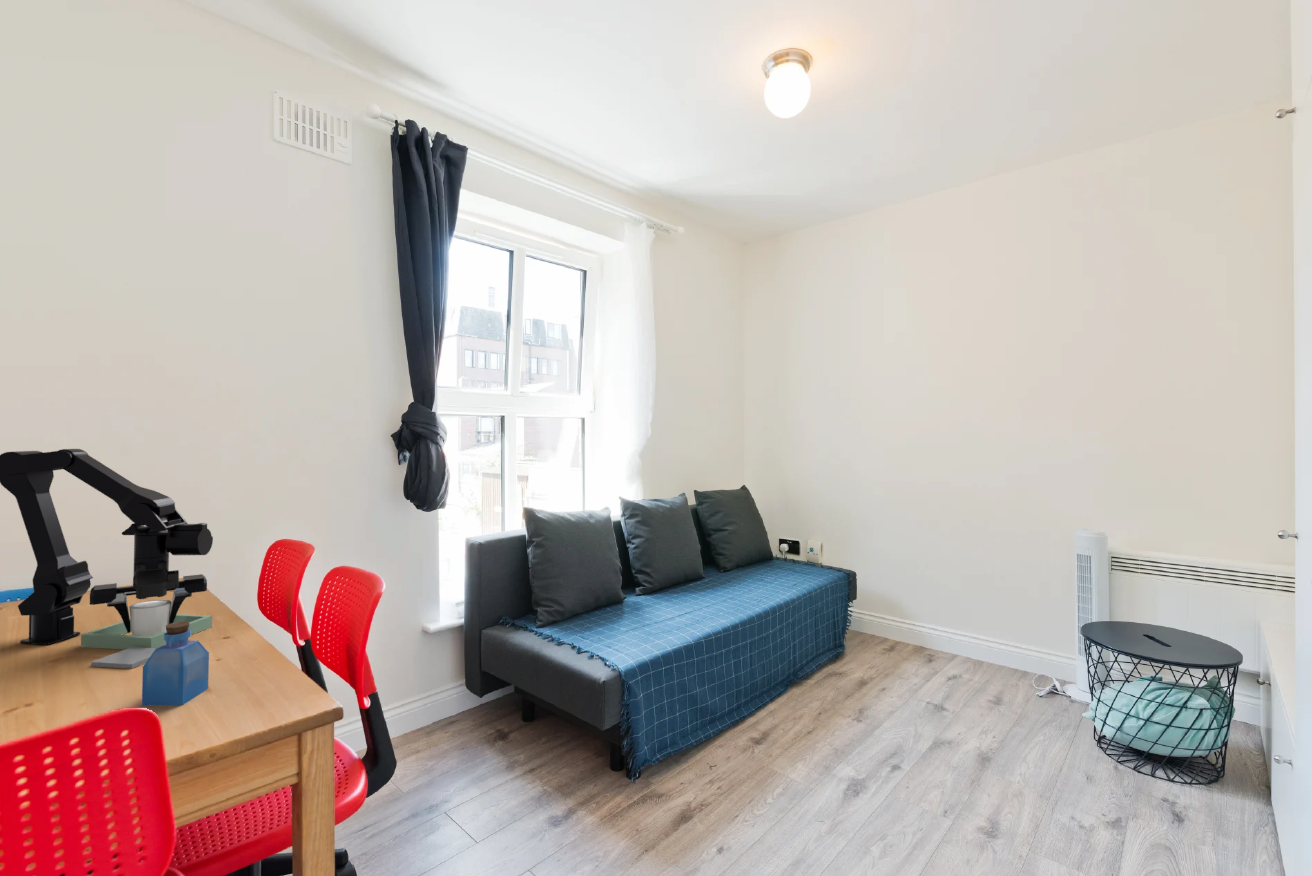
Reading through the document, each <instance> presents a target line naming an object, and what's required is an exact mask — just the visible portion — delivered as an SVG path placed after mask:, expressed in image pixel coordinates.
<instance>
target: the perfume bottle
mask: <svg viewBox="0 0 1312 876" xmlns="http://www.w3.org/2000/svg"><path fill="white" fill-rule="evenodd" d="M189 624H190V623H189V622H176V623H171V624H168V625H166V626H165V627H166V631H167V632H166V633H164V640H165V641H166V644H165V645H163V646H161V647H159V648H157V649H155V651H154V652H153V653H152V655H151V656H150V658H149V659H148V660H147V662H146V663H144V664H143V666H142V678H141V679H142V681H141V682H142V684H141V688H142V689H141V706H184V705H185V704H187V703H189V702H190V701H192V700H193V699H195V698H196V697H197V696H199V695H201V694H202V693H204V692H205V691H207V690H208V689H209V672H210V671H209V669H210V668H209V666H210V662H209V661H210V652H209V651H208V650H207V649H206V648H205V647H204V645H203V644H202V643H201V642H200V641H199V640H189V638H190V637H192V635H191V630H190V629H188V628H189Z"/></svg>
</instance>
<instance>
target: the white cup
mask: <svg viewBox="0 0 1312 876" xmlns="http://www.w3.org/2000/svg"><path fill="white" fill-rule="evenodd" d="M171 604H172V601H171V600H169V599H153V600H146V601H145V600H144V601H140V602H136V603H133V604H131V605H130V606H129V605H128V609H129V616H130V619H131V628H132V631H131V635H135V636H153V635H156V634H159V633H162V632H164V631H166V627H165V626H166V625H168V624H169V617H170V610H171Z"/></svg>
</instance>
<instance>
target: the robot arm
mask: <svg viewBox="0 0 1312 876" xmlns="http://www.w3.org/2000/svg"><path fill="white" fill-rule="evenodd" d="M58 470H64V471H66V472H67V473H69V474H71V475H72V476H73V477H76V478H77V479H78V480H80V481H82V482H83V483H85V484H87V485H88V486H90V487H91V488H93V489H94V490H96V491H98V492H100V493H101V494H103V495H104V496H106V497H107V498H109V499H110V500H112V501H113V502H114V503H115V504H117V506H118V508H119V511H121V513H122V514H123V515H125V516H126V518H128V519H129V520H130V521H131V522H132V523H131V524H130V526H129V527H127V528H126V529H125V530H123V531H122V532H121V535H122V536H133V541H134V542H133V577H132V585H129V586H122V587H121V586H119V587H118V584H117V583H115V582H113V583H107V584H105V583H104V584H98V585H97V584H96V585H94V586H93V587H92V588H91V582H92V581H91V580H92V579H94V577H93V575H91V573H90V570H89V563H88V562H87V560H82V561H77V560H76V559H75V558H73V557H72V555H71V554H70V551H69V548H68V545H67V541H66V538H65V536H64V535H65V534H64V533H63V530H62V526H61V524H60V520H59V518H58V514H57V512H56V507H55V505H54V502H53V501H54V500H53V498H52V496H51V495H52V494H51V492H50V491H51V490H50V489H51V485H52V484H53V483H52V482H53V480H54V478H55V476H54V475H55V474H54V471H58ZM0 485H1V486H2V487H3V488H4V489H6V490H7V491H8V492H9V493H10V494H12V496H14V497H15V500H16V502H17V505H18V509H19V511H20V512H19V513H20V515H21V517H22V518H21V519H22V522H23V525H24V527H25V530H26V533H27V536H28V537H27V538H28V540H29V542H30V546H31V548H32V551H33V555H34V559H35V561H36V567H35V568H36V569H35V571H34V575H33V578H32V588H33V589H32V590H33V593H31V594H30V595H29V596H28V597H27V598H25V599H24V600H23V601H22V602H21V603H19V604H18V605H17V608H18V611H19V614H20V615H21V616H29V617H28V637H27V638H25V639H20V641H19V643H20V642H21V643H20V644H29V643H35V644H34V645H51V644H54V643H58V642H61V641H64V640H67V639H70V638H73V637H76V636H81V631H75V616H74V607H72V606H74V605H78V604H80V603H81V601H82V599H83V597H84V595H85V594H86V593H87V592H88V590H89V589H90V593H89V605H91V606H95V605H103V604H106V607H109V608H110V607H111V608H112V607H113V608H114V609H115V610H116V611H117V612H118V614H119V616H120V618H121V621H123V622H124V625H125V627H126V630H127V632H128V633H127V634H129V633H131V632H130V628H131V623H130V619H131V618H130V609H129V604H128V598H127V597H128V596H134V595H135V598H136V599H137V600H145V599H147V598H154V597H156V598H163V597H165V596H167V594H168V592H170V591H171V592H173V594H172V599H171V600H172V601H171V609H170V617H169V624H171V623H173V622H174V619H175V617H176V614H178V611H179V609H180V607H181V606H182V604H183V603H184V601H185V600H186V598H189V597H192V596H193V594H194V593H202V592H206V591H208V580H207V578H206V576H205V575H203V574H202V573H201V574H192V575H190V574H189V575H183V577H182V580H180V572H179V571H180V570H179V569H178V570H175V569H174V570H170V569H169V566H170V565H169V564H170V554H171V555H172V556H207V554H209V553H210V551H211V549H212V546H213V543H214V541H213V540H214V536H213V535H212V533H211V531H210V529H209V528H208V523H207V522H199V523H188V521H186V519H185V518H184V517H183V515H182V514H181V513H180V512H179V511H178V509H177V508H176V504H175V503H176V502H175V500H174V499H172V498H171V497H170V496H168V495H165V494H163V493H161V492H158V491H156V490H153V489H149V488H146V487H142V486H140V485H137V484H135V483H133V482H132V481H130V480H128V479H127V478H125V476H122V475H121V474H119V473H118V472H116V471H114V470H113V469H111V468H110V467H108V466H106V465H105V464H103V463H101V462H100V461H99V460H98V459H96V458H94V457H93V456H91V455H89V454H88V452H87V451H86V450H84V449H80V448H63V449H59V450H54V451H46V452H43V451H41V450H22V451H6V452H3V453H0Z"/></svg>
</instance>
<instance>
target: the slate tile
mask: <svg viewBox="0 0 1312 876" xmlns="http://www.w3.org/2000/svg"><path fill="white" fill-rule="evenodd" d="M155 649H157V648H144V647H130V648H128V649H121V650H120V651H118V652H114V653H111V654H109V655H106V656H103V657H101V658H98V659H96V660H94V661H93V660H92V661H91V662H90V663H91V665H90V666H91V667H96V668H116V669H134V668H136V667H140V666H141V665H145V663H146V662H147V660H148V659H149V658H150V656H151V655H152V653H153V652H154V651H155Z"/></svg>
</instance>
